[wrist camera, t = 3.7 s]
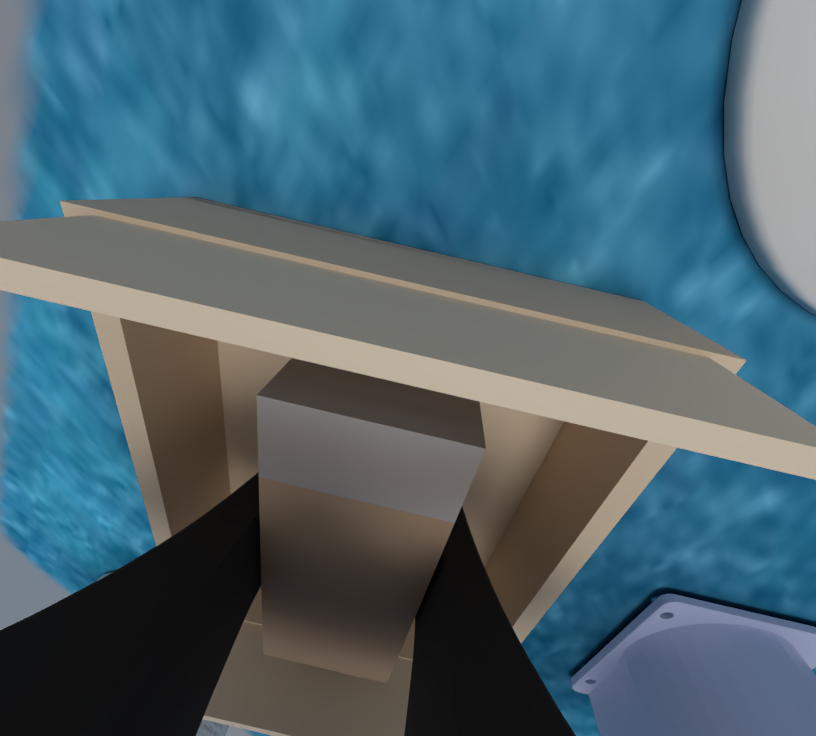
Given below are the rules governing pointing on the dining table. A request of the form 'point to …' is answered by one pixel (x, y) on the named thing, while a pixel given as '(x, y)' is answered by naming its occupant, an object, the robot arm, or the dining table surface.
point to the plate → (775, 140)
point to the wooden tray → (395, 361)
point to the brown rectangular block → (355, 510)
